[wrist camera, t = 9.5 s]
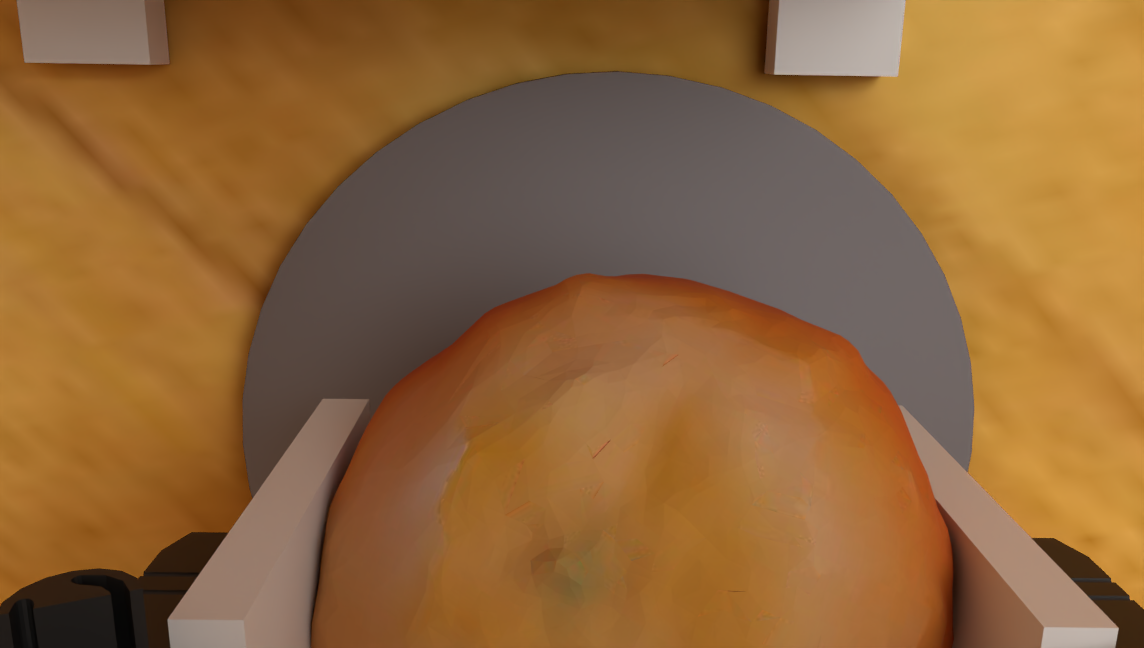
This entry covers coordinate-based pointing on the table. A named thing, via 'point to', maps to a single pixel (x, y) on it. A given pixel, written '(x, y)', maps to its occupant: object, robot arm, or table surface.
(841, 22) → the wall
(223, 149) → the table surface
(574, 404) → the fruit
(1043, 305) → the table surface
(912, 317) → the mat
